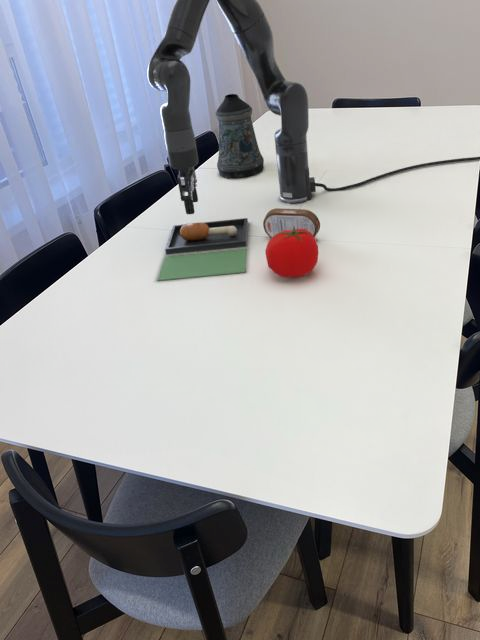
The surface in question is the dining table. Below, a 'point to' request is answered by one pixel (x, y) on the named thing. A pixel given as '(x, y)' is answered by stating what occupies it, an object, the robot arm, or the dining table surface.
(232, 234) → the drumstick
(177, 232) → the pan
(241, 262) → the napkin
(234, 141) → the beer stein
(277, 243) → the tomato
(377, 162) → the dining table surface
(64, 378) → the dining table surface
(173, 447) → the dining table surface
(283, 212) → the tin
